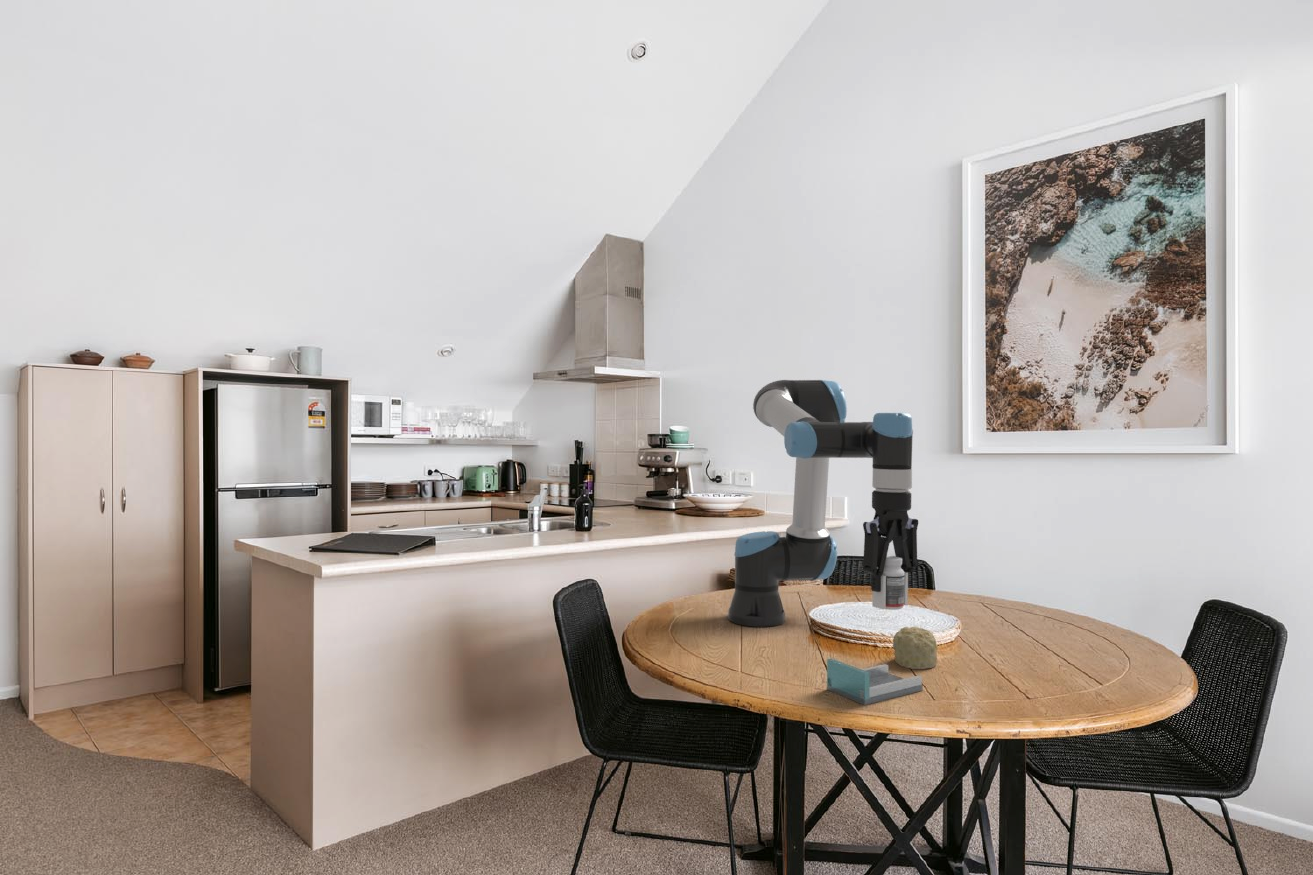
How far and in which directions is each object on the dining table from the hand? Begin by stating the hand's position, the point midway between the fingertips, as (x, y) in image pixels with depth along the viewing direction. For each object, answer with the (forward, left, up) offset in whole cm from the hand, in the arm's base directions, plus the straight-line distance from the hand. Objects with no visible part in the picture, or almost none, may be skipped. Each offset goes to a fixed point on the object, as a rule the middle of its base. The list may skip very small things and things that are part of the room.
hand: (890, 605), depth 153 cm
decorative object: (-17, -8, -17) cm, 25 cm away
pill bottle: (0, 0, -1) cm, 1 cm away
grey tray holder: (+4, 0, -16) cm, 17 cm away
